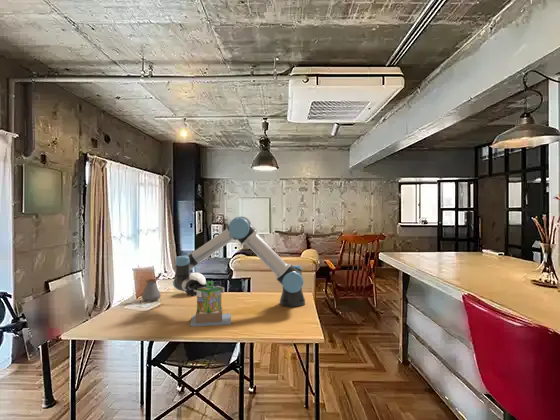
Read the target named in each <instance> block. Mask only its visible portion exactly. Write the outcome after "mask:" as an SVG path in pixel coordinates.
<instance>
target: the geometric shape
mask: <svg viewBox="0 0 560 420" xmlns="http://www.w3.org/2000/svg"><path fill="white" fill-rule="evenodd" d="M190 279H193V280H197V281H199V282H200V284H207V280H206V277H205V276H204V275H203V274H202V273H200V272H196V271H195V272H191V273H190Z"/></svg>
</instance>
